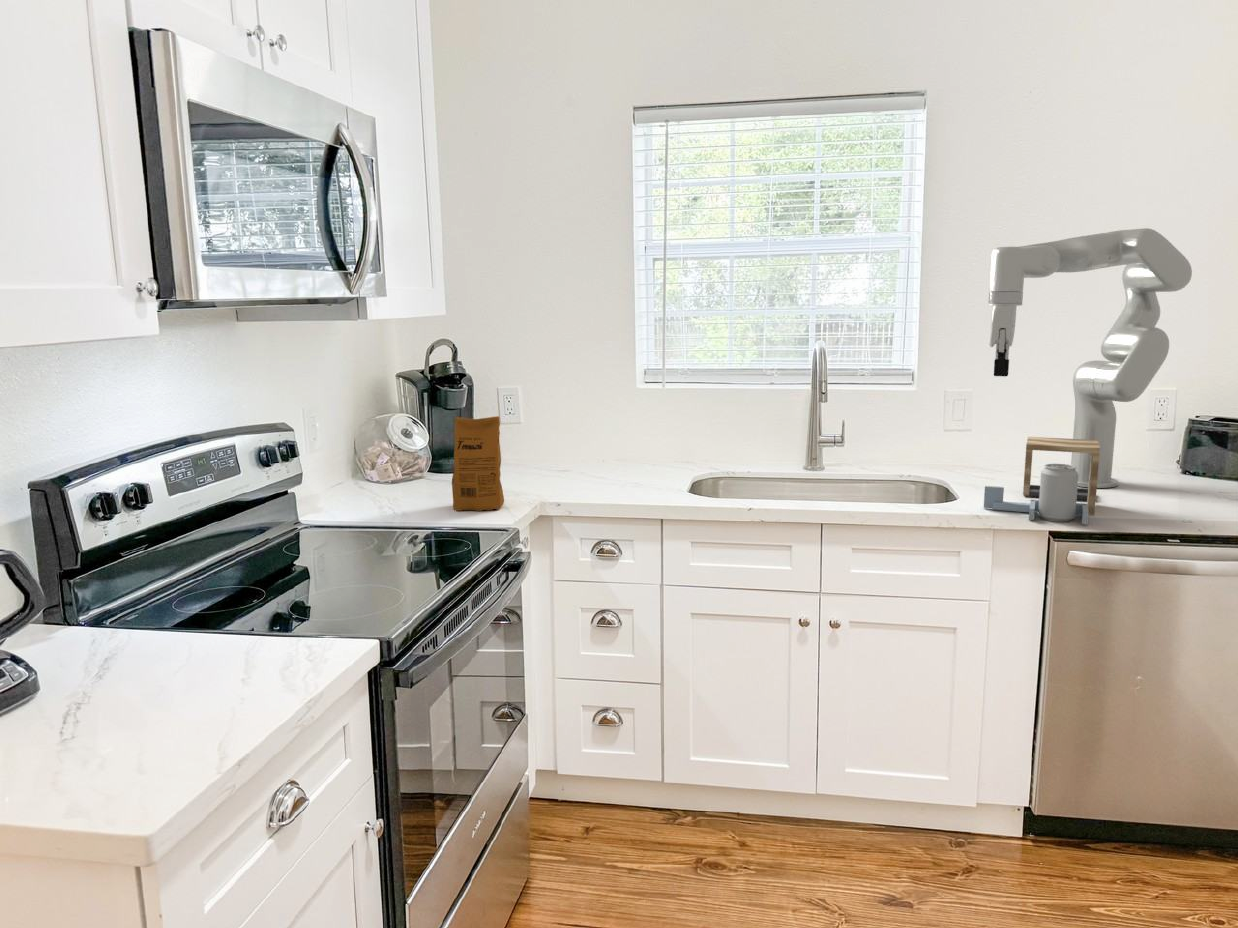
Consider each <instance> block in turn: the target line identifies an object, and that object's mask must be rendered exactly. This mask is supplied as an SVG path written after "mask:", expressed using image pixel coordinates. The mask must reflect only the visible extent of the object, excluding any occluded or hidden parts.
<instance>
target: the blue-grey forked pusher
mask: <svg viewBox="0 0 1238 928" xmlns="http://www.w3.org/2000/svg"><path fill="white" fill-rule="evenodd" d="M1004 491H1005V487H1004V486H996V485H995V486H994V485H985V486H984V493H983V494H984V496H983V509H992V510H997V511H1008V512H1021V513H1028V521H1029V520H1030V521H1034V520H1035V513H1038V509H1039V499H1030V502H1029V503H1027V502H1014V501H1004V494H1005V493H1004ZM1075 516H1080V517H1081V525H1086V526H1087V525H1088V522H1089V515H1088V507H1087V503H1081V502H1080V503H1079V502H1076V513H1075Z"/></svg>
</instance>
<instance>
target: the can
mask: <svg viewBox="0 0 1238 928" xmlns="http://www.w3.org/2000/svg"><path fill="white" fill-rule="evenodd" d="M1075 469H1076V467H1075V466H1072V465H1071V464H1068V463H1067V464H1066V463H1047V464H1045V465H1044V468H1043V469H1042V470H1041V471H1040V480H1039V481H1040V482H1039V485H1040V495H1039V498H1038V500H1039V509H1038V512H1037V513H1038V516H1040V517H1041V519H1043V520H1045V521H1049V522H1054V523H1055V522H1056V523H1067V522H1071V521H1072V520H1073V519H1074V518H1076V515H1075V513H1076V503H1077V501H1076V500H1077V488H1079V486H1078V473H1077V472H1076V470H1075Z"/></svg>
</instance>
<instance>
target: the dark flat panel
mask: <svg viewBox="0 0 1238 928" xmlns="http://www.w3.org/2000/svg"><path fill="white" fill-rule="evenodd" d="M1039 495H1040V484H1039V485H1037V484H1030V490H1029V496H1026V495H1023V497H1024V496H1026V497H1025V498H1034V497H1036V499H1039ZM1087 499H1088V488H1085V487H1081V488H1080V487H1077V500H1076V502H1077V501H1078V502H1079V501H1080V502H1087Z"/></svg>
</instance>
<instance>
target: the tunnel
mask: <svg viewBox="0 0 1238 928" xmlns="http://www.w3.org/2000/svg"><path fill="white" fill-rule="evenodd" d="M1025 444H1026V447H1025V461H1024V475H1023V489H1022V492H1023V493H1022V495H1023V496H1024V495H1026V496H1029V490H1030V485H1031V480H1032V479H1031V477H1032V465H1033V463H1032V462H1033V451H1042V452H1043V451H1044V452H1046V451H1047V452H1062V453H1072V452H1079V453H1091V461H1090V474H1089V486H1088V487H1087V489H1088V499H1087V501H1086V504H1087V507H1088V516H1095V512H1096V503H1097V499H1096V498H1097V489H1098V488H1097V479H1098V466H1099V454H1100V446H1099V442H1098V440H1085V439H1073V438H1061V437H1041V436H1040V437H1039V436H1027V441H1026V443H1025Z"/></svg>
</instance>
